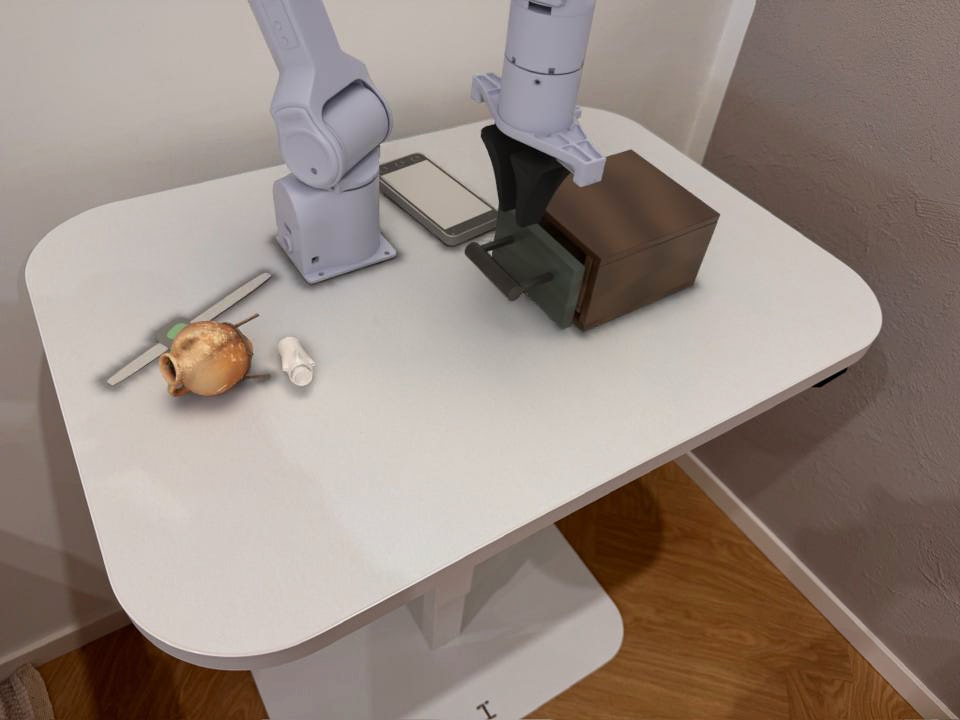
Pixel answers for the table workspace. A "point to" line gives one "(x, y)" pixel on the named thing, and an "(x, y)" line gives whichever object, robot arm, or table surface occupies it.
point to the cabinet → (632, 235)
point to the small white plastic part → (295, 361)
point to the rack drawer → (535, 266)
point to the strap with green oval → (172, 329)
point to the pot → (208, 358)
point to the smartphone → (436, 198)
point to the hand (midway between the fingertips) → (519, 215)
